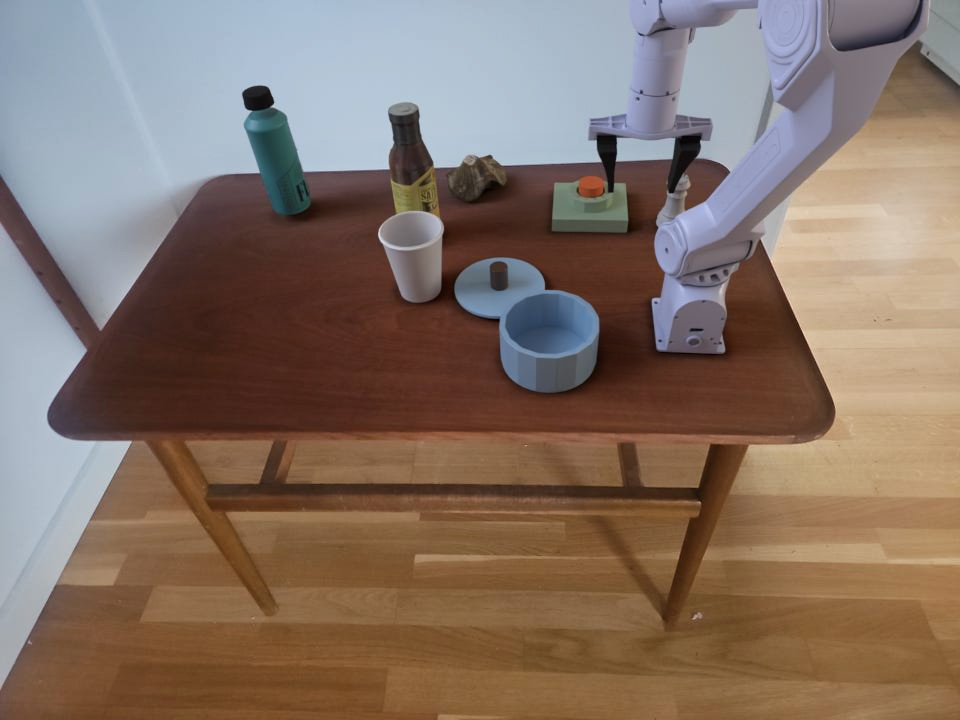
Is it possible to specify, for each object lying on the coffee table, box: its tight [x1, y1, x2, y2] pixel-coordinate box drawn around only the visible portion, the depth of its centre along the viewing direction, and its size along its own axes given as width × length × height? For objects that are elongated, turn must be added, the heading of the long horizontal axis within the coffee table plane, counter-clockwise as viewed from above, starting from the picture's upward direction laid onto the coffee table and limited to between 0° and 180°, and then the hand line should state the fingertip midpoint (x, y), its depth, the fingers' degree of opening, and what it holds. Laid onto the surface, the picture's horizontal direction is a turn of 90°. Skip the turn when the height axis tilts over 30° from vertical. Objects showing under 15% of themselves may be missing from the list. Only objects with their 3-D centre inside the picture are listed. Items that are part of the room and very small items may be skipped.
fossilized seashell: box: [445, 154, 508, 202], centre depth 103 cm, size 8×7×10 cm
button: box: [578, 175, 604, 198], centre depth 96 cm, size 4×4×2 cm
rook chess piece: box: [655, 172, 692, 228], centre depth 93 cm, size 4×4×8 cm
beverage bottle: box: [241, 84, 312, 216], centre depth 97 cm, size 6×7×20 cm
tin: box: [498, 289, 600, 394], centre depth 77 cm, size 11×11×6 cm
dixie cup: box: [377, 211, 445, 304], centre depth 85 cm, size 8×8×10 cm
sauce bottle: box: [387, 101, 441, 220], centre depth 90 cm, size 6×6×20 cm
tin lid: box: [453, 257, 546, 320], centre depth 86 cm, size 12×12×4 cm
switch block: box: [551, 179, 629, 234], centre depth 98 cm, size 10×11×4 cm
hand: (640, 189), depth 84 cm, fingers open, 7 cm apart
